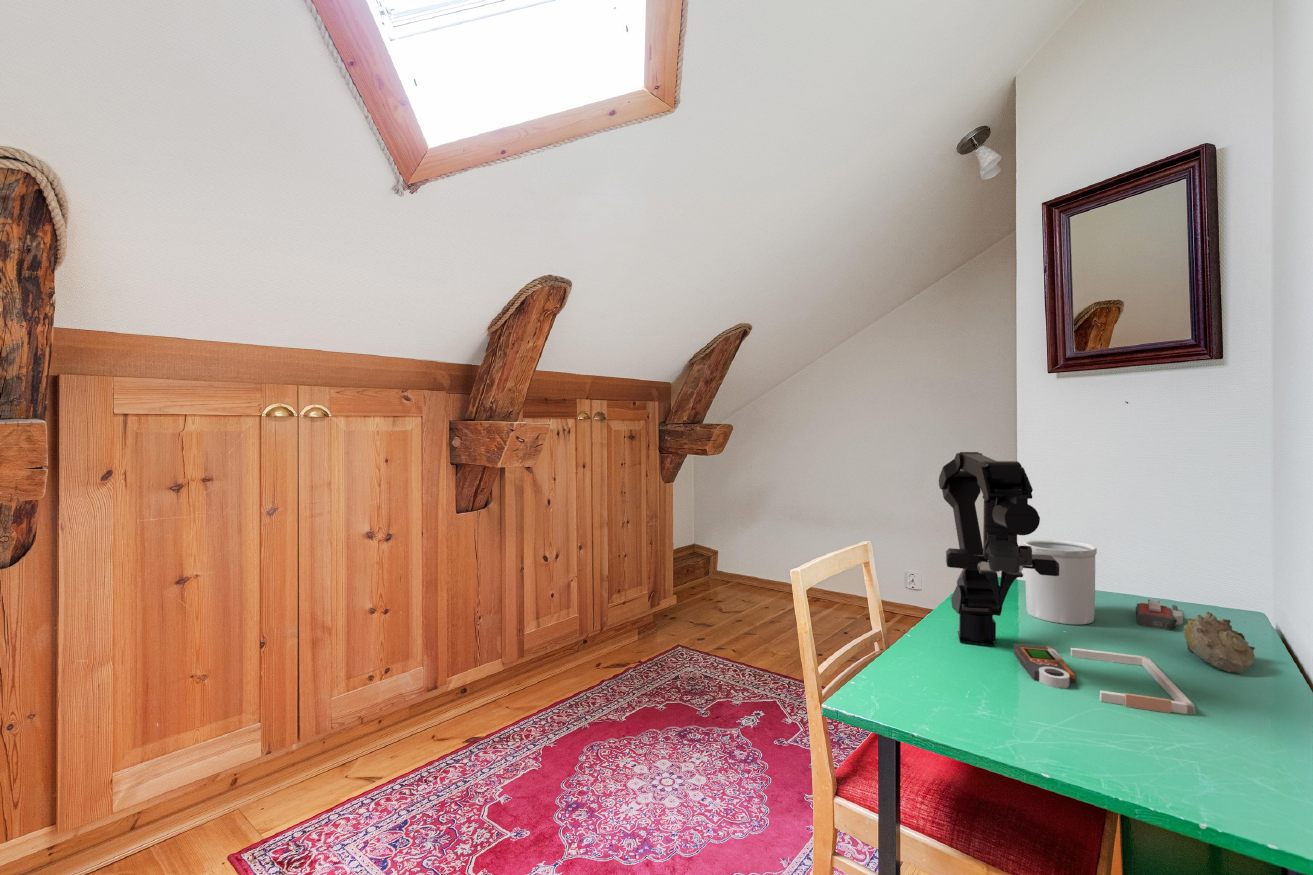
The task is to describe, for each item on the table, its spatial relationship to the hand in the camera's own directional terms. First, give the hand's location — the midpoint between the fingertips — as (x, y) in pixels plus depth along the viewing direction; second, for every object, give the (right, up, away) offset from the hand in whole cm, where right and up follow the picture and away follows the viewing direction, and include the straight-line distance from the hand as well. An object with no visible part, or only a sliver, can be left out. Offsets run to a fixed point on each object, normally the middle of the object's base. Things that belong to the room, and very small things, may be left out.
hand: (999, 605), depth 118 cm
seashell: (+44, -12, +1) cm, 45 cm away
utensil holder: (+31, -11, +29) cm, 44 cm away
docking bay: (+19, -12, -8) cm, 23 cm away
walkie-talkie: (+54, -11, +27) cm, 61 cm away
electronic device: (+7, -12, -3) cm, 14 cm away
